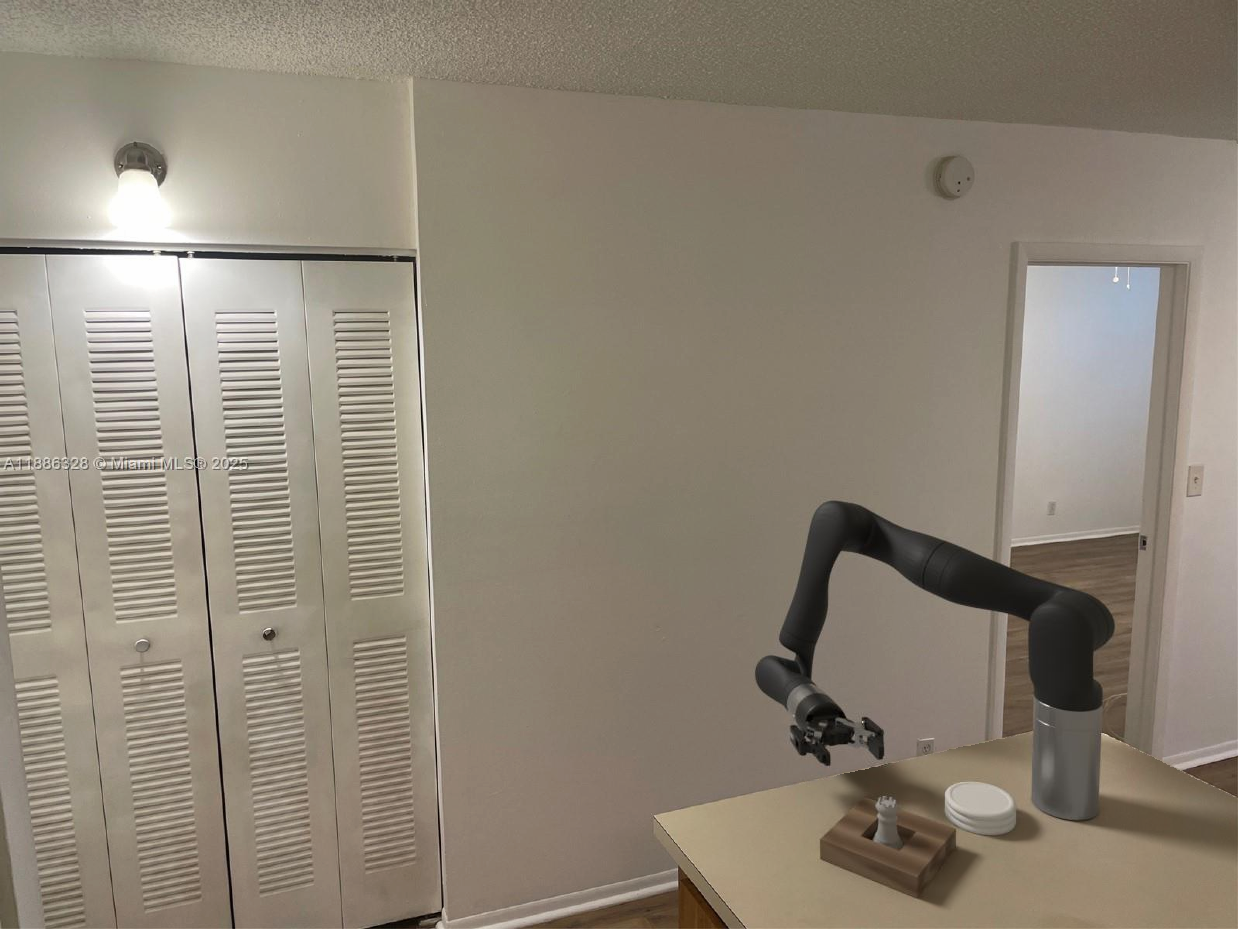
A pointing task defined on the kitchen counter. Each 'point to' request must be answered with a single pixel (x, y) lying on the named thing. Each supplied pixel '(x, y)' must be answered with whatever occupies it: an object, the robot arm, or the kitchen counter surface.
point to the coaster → (980, 808)
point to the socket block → (889, 848)
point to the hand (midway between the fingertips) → (854, 757)
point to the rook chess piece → (887, 823)
